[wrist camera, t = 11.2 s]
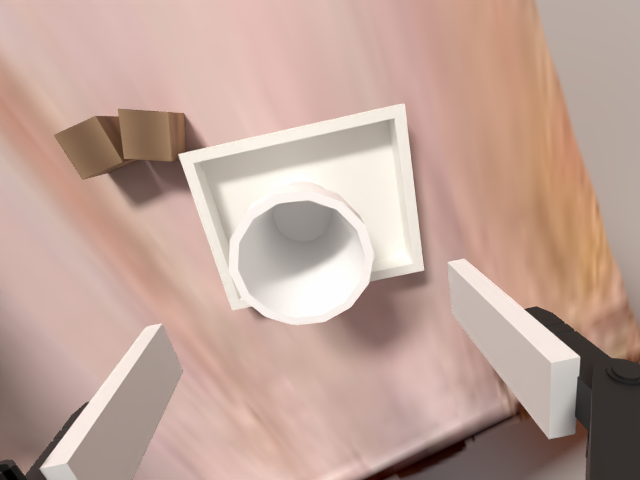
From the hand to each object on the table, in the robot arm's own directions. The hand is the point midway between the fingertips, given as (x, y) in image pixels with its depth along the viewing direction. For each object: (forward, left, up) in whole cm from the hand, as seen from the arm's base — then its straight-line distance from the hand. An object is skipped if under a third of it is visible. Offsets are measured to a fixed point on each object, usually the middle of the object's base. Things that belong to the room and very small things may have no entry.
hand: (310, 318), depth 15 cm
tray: (0, 0, -21) cm, 21 cm away
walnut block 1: (-17, +10, -21) cm, 29 cm away
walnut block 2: (-12, +10, -21) cm, 26 cm away
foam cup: (0, 0, -20) cm, 20 cm away
